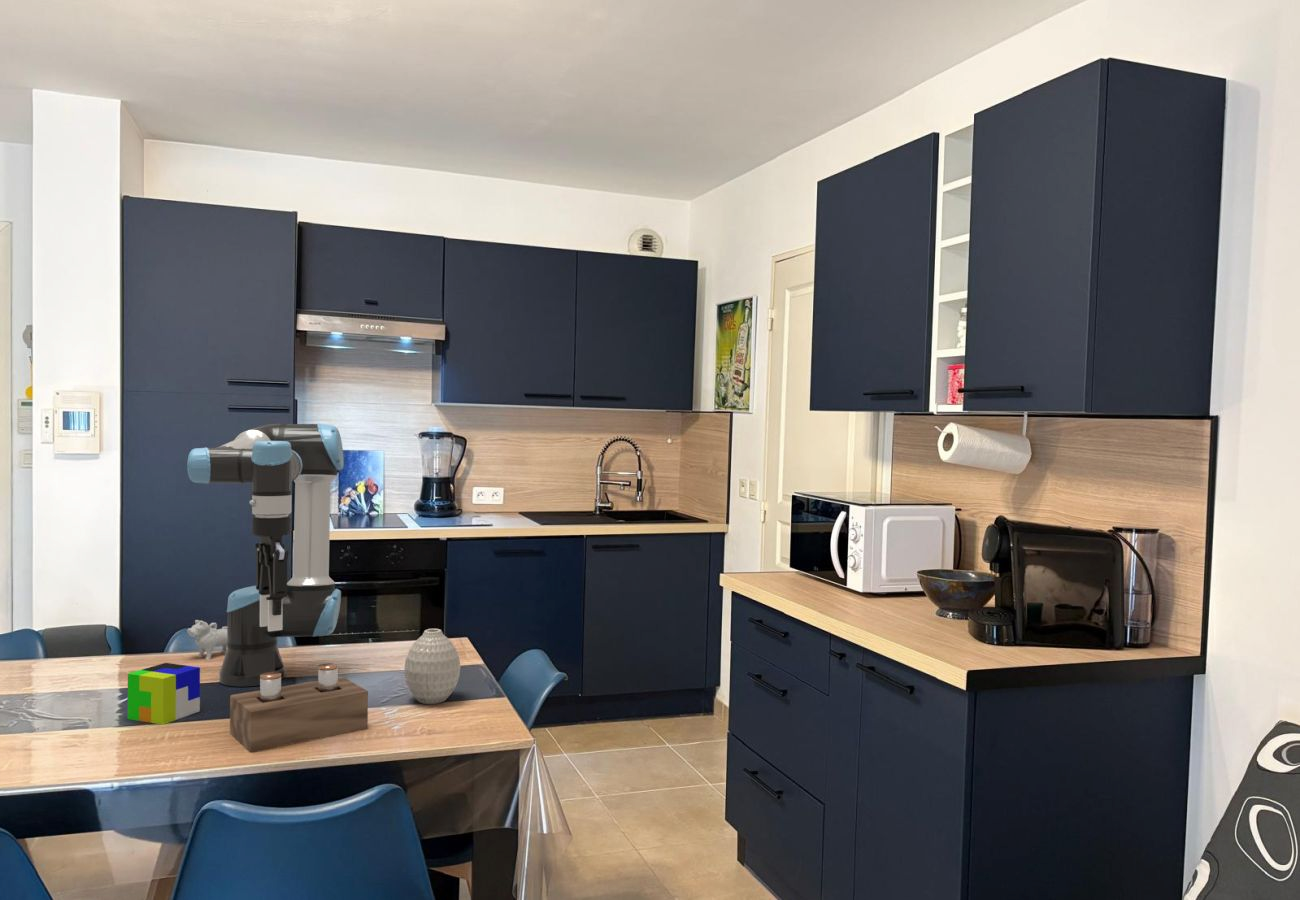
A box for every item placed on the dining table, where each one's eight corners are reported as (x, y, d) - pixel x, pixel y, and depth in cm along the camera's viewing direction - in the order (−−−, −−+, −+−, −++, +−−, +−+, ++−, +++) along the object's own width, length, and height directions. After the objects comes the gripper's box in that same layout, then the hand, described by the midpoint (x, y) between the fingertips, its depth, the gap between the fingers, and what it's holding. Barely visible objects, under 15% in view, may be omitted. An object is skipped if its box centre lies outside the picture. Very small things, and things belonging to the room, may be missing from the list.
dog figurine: (183, 659, 251) (182, 620, 250) (227, 650, 261) (227, 613, 261) (193, 663, 248) (193, 623, 247) (238, 653, 258) (238, 615, 258)
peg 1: (257, 709, 192) (257, 673, 192) (277, 706, 195) (277, 670, 194) (263, 714, 189) (263, 678, 189) (283, 710, 191) (283, 674, 191)
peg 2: (315, 699, 200) (315, 664, 199) (333, 696, 202) (333, 662, 202) (322, 703, 197) (322, 668, 196) (340, 700, 199) (340, 665, 199)
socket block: (230, 733, 193) (230, 695, 193) (342, 711, 209) (342, 676, 209) (250, 752, 183) (250, 712, 182) (367, 728, 198) (367, 691, 198)
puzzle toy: (199, 711, 208) (200, 667, 207) (163, 724, 198) (163, 678, 198) (165, 706, 211) (165, 662, 211) (127, 719, 201) (127, 673, 201)
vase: (470, 697, 222) (471, 627, 221) (437, 711, 210) (437, 638, 209) (427, 689, 227) (428, 622, 226) (392, 703, 215) (393, 632, 215)
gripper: (239, 512, 195) (239, 622, 196) (266, 520, 181) (265, 638, 182) (276, 511, 200) (275, 618, 200) (304, 518, 186) (304, 633, 187)
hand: (271, 627), depth 191 cm, fingers open, 4 cm apart
